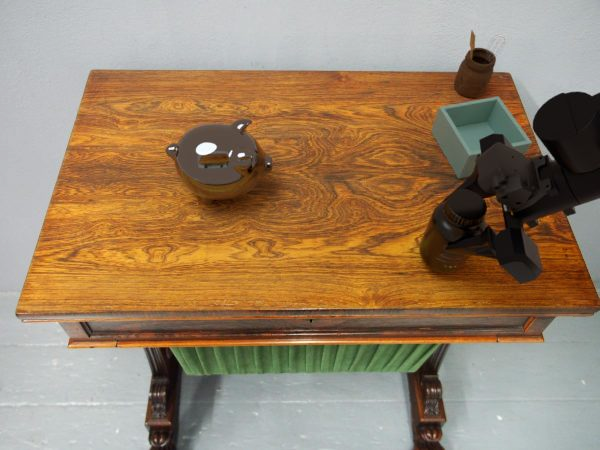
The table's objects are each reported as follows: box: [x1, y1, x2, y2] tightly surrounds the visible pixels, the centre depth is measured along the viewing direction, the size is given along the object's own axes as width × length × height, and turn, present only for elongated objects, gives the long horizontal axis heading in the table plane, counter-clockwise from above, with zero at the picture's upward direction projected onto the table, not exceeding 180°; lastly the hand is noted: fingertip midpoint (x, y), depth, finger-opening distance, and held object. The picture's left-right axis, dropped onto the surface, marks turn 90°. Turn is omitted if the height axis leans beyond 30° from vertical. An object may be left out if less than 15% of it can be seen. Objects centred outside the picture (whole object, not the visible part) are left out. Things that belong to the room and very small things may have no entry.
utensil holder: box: [453, 29, 506, 99], centre depth 87 cm, size 6×6×12 cm
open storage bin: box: [430, 96, 533, 180], centre depth 81 cm, size 11×11×6 cm
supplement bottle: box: [418, 189, 488, 274], centre depth 65 cm, size 7×7×12 cm
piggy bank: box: [164, 118, 274, 206], centre depth 72 cm, size 11×15×12 cm
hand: (444, 226), depth 64 cm, fingers closed on supplement bottle, 7 cm apart
